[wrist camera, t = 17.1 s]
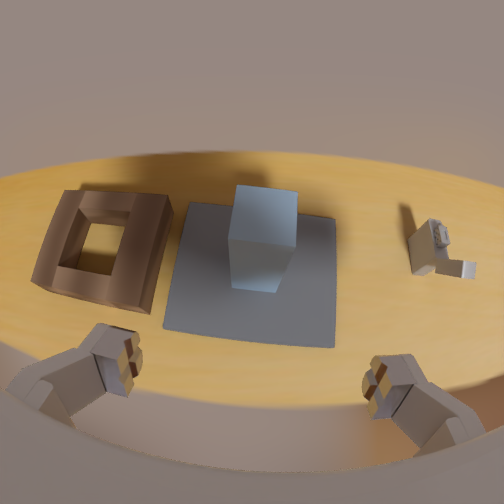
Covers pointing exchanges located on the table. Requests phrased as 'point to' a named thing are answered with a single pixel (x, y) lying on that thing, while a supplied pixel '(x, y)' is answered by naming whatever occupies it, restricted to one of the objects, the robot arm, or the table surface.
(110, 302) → the pocket holder
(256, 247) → the peg
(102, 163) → the table surface
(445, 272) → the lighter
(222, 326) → the rubber mat
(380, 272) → the table surface
